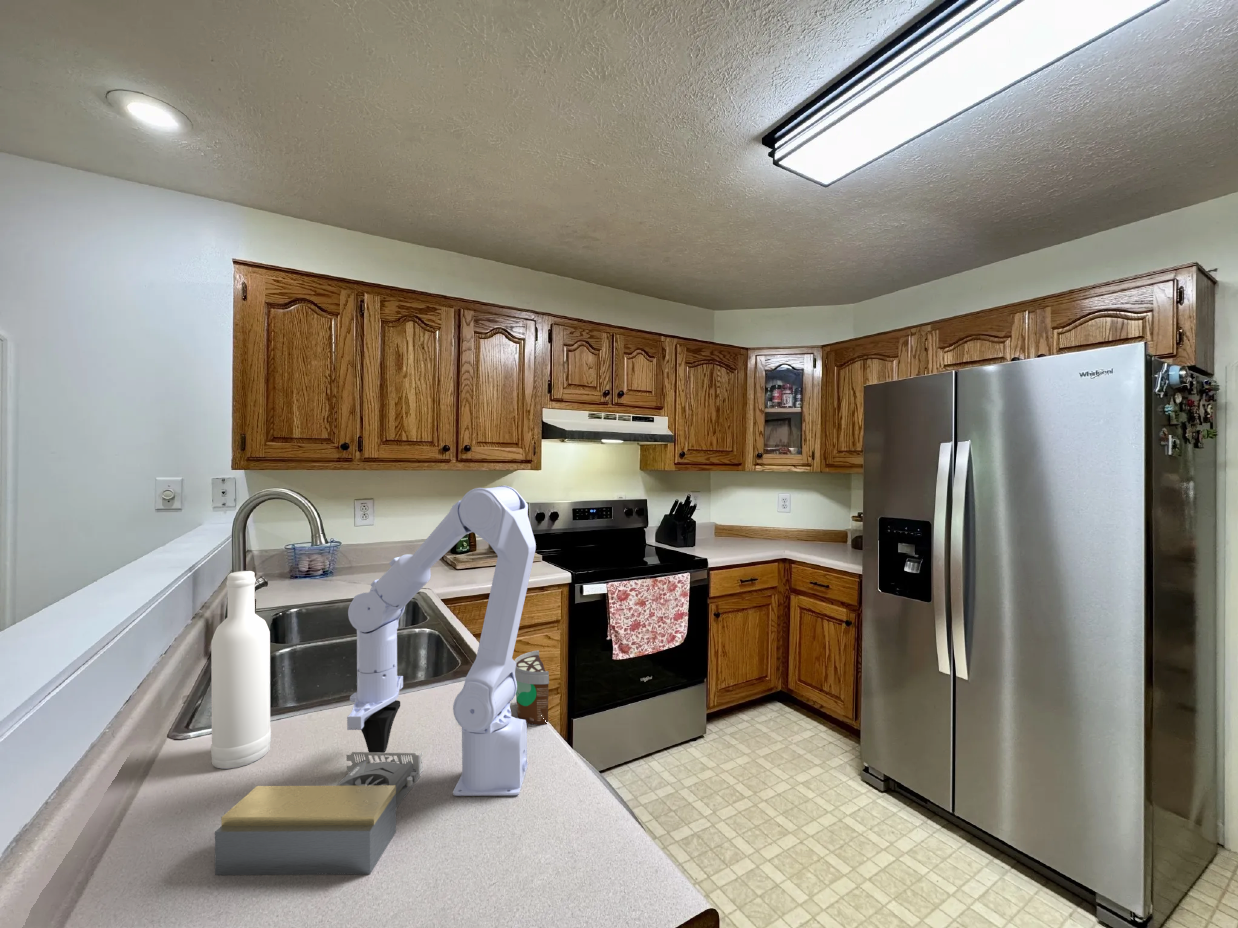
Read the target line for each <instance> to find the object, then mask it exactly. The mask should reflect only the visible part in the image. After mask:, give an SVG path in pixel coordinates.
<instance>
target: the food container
mask: <svg viewBox="0 0 1238 928" xmlns="http://www.w3.org/2000/svg"><path fill="white" fill-rule="evenodd" d="M514 661H515V662H516V668H515V678H516V681H517V691H516V695H515V697H516V698H515V699H516V712H517V714H516V715H517V718H518V719H524V720H526V724H528V725H529V724H530V725H536V726H537V725H539V726H541V725H542V726H543V725H544V726H545V725H548V724H547V723H546V722H548V723H549V684H550V675H549V671H547V670H546V669H545V667H544V663H543V661H542V660H541V657H540V650H533V651H529V652H526V653H523V654H520V655H519V656H517V657H516V658H515V659H514ZM541 715H542V716H541ZM543 718H544V719H543ZM545 720H546V722H545Z"/></svg>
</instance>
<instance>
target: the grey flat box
mask: <svg viewBox="0 0 1238 928" xmlns="http://www.w3.org/2000/svg"><path fill="white" fill-rule="evenodd" d="M220 823H221V826H220V827H218V828H217V829H216V830H215V831H214V876H245V875H246V876H251V875H253V876H256V875H257V876H258V875H259V876H260V875H261V876H263V875H264V876H267V875H268V876H272V875H273V876H275V875H276V876H277V875H279V876H280V875H285V876H287V875H289V876H290V875H294V876H295V875H304V876H306V875H309V876H310V875H371V873H372V872H373V870H374V869H375V867H376V866H377V864H378V862H379V861H380V860H381V859H380V858H381V857H382V855H383V853H385V850H386V849H387V848H388V846H389V844H390V842H391V841H392V839H393V837H394V836H395V834H396V833H397V808H396V785H370V786H336V785H256V786H255V787H253V789H252V790H251V791H250V792H248V793H247V794H246V795H245V796H244V797H243V798H241V799H240V800H239V801H238V802H237V803H236V804H235V805H234V806H233V807H231V808H230V809H229V810H228V811H226V813H224V814H223V815H222V816H221V820H220Z"/></svg>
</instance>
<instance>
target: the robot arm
mask: <svg viewBox="0 0 1238 928" xmlns="http://www.w3.org/2000/svg"><path fill="white" fill-rule="evenodd" d="M528 509H529V503H527V501H526V500H525V499H524V497H522V495H521V494H520V493H519V492H518V490H517V489H515V488H513V487H512V486H508V485H499V486H496V487H485V488H483V487H475V488H473V489H470V490H468V491H467V492H466V493H465V494H464V496H462V498H461V500H458V501H457V502H455V503H454V504H453V505H452V506H451V508H450V510H449V512H448V513H447V515H445V516H444V518H443V519H442V520H441V521H440V523H438V525H437V526H436V527H435V529H434V530H433V531H432V532H431V533H430V534H429V536H428V537H427V538H426V539H425V540H424V541H423V543H422V544H421V545H420V546H419V547H418V548H417V550H415V551H414V553H413V554H411V553H409V554H406V553H405V554H403V555H401V556H398V557H394V558H392V559H391V561H389V563H388V565H389V566H390V567H389V569H387V570H386V572H384V574H383V575H381V577H380V578H377V579H375V580H373V581H372V583H371V584H370V587H371V588H369V589H370V590H369V591H368V592H362V593H359V594H357V595H355V596H354V597H353V599H352V601H351V602H350V604H349V607H348V610H347V614H348V615H347V616H348V620H349V622H350V624H351V626H352V627H353V628H354V629H355V630H356V675H357V676H356V689H357V690H356V692H354V693H352V694H351V695H350V696H349V702H352V703H353V706H352V709H351V711H350V713H349V714H348V715H347V718H346V719H347V720H346V721H347V723H346V725H347V726H346V727H347V731H361V733H362V736H363V739H364V741H365V744H366V748H367V751H368V752H376V753H387V752H386V751H387V749H388V745H389V741H390V735H391V732H392V727H393V724H394V721H395V717H396V715H397V713H398V712H399V709H400V707H401V701H400V700H398V698H399V697H400V690H402V689H403V688H404V676H403V675H398V629H399V623H400V622H399V621H400V619H401V617H402V616H403V615H404V613H405V608H406V605H407V604H408V603H409V602H410V601H411V600H412V599H413V598H414V597H415V596H416V595H417V594H418V593H419V592H420V591H421V590H422V589H423V587H425V586H426V584H427V583H429V581H430V580H431V577H432V576H431V575H432V573H431V570H432V569H431V568H432V567H433V566H434V565H435V564H437V562H439V560H441V558H442V557H444V556H445V554H446V553H448V552H449V551H450V550H451V549H452V548H453V547H454V546H455V545H456V544H457V543H459V541H460V540H462V539H463V538H464V537H465V536H466V535H468V534H471V533H474V534H475V535H476V536H478V537H479V538H481V539H482V540H483V541H485V542H486V543H487V544H488V545H489V546H490V547H491V549H492V551H494V552H495V554H496V555H497V559H496V563H495V568H494V573H493V577H492V583H491V586H490V587H491V588H490V592H489V595H488V596H489V597H488V602H487V606H486V611H485V614H484V620H483V625H482V629H481V634H480V639H479V643H478V648H477V653H476V656H475V660H474V661H473V663H472V665H471V667H470V669H469V671H468V673H467V675H466V676H465V678H464V683H463V686H462V688H461V690H460V692H458V694H457V695H456V697H455V698H454V702H453V704H452V710H453V711H452V712H453V716H454V719H455V721H456V722H457V724H458V725H459V726H460V727H461V753H462V754H461V762H462V763H461V775H460V777H459V779H458V781H457V782H456V785H455V787H454V788H453V791H452V795H453V796H461V797H462V796H463V797H464V796H472V797H473V796H474V797H475V796H518V795H519V794H520V791H521V788H522V785H523V782H524V779H525V776H526V772H527V769H528V765H529V763H528V727H527V724H528V723H526V720H524V719H519V718H518V717H514V716H512V711H511V702H512V700H514V699H515V697H516V691H517V681H516V678H515V668H516V662H515V659H513V655H514V651H515V647H516V646H515V645H516V643H517V642H516V641H517V637H518V632H519V628H520V624H521V619H522V614H523V610H524V605H525V599H526V596H527V591H528V586H529V583H530V576H531V572H532V568H533V564H534V558H535V554H536V549H537V545H536V544H537V543H536V539H535V536H534V533H533V529H532V526H531V525H532V524H531V522H530V519H529V515H528V514H529V513H528V511H529V510H528ZM369 756H371V755H369ZM374 756H375V757H378V756H377V755H374ZM371 757H372V756H371Z"/></svg>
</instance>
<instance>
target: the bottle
mask: <svg viewBox="0 0 1238 928" xmlns="http://www.w3.org/2000/svg"><path fill="white" fill-rule="evenodd" d="M226 577H227V578H226V579H227V580H226V583H225V585H226V588H227V589H226V593H227V617H226V618H225V619H224V620H223V621H222V622H221V623H219V624H218V626H217V627H216V629H215V631H214V634H213V637H212V638H211V642H210V643H211V645H210V646H211V648H210V649H211V651H210V652H211V653H210V654H211V660H210V661H211V665H210V666H211V667H210V668H211V671H210V672H211V744H210V755H211V756H210V757H211V764H212V766H213V767H215V768H217V769H221V770H222V769H223V770H224V769H225V770H229V769H235V768H236V769H237V768H240V767H244V766H247V765H250V764H252V763H255V762H256V761H259V760H261V758H264V757H265V756H266V755H267V754H268V752H270V750H271V739H272V729H271V631H270V629H269V626H268V623H267V622H266V620H265V619H264V618H262V617H261V616H259V615H258V614H257V613H256V608H255V607H256V606H255V605H256V604H255V603H256V602H255V601H256V599H255V597H256V596H255V592H256V591H255V590H256V588H255V587H256V585H255V584H256V581H257V579H256V577H255V572H254V571H252V570H241V571H240V570H239V571H235V572H231V573H229V574H228V575H227V576H226Z"/></svg>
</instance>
